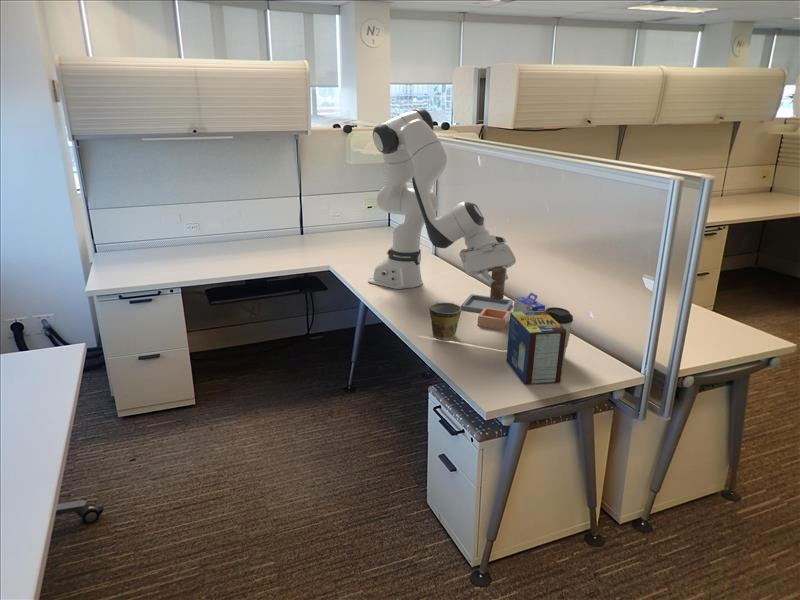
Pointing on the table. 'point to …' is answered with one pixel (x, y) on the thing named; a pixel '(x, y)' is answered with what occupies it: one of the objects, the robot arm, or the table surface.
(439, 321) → the ceramic cup
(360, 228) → the table surface
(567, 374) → the table surface
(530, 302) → the ink cartridge box
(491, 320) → the holder cup
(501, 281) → the canister
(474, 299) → the tray
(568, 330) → the coffee cup
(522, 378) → the protein box
